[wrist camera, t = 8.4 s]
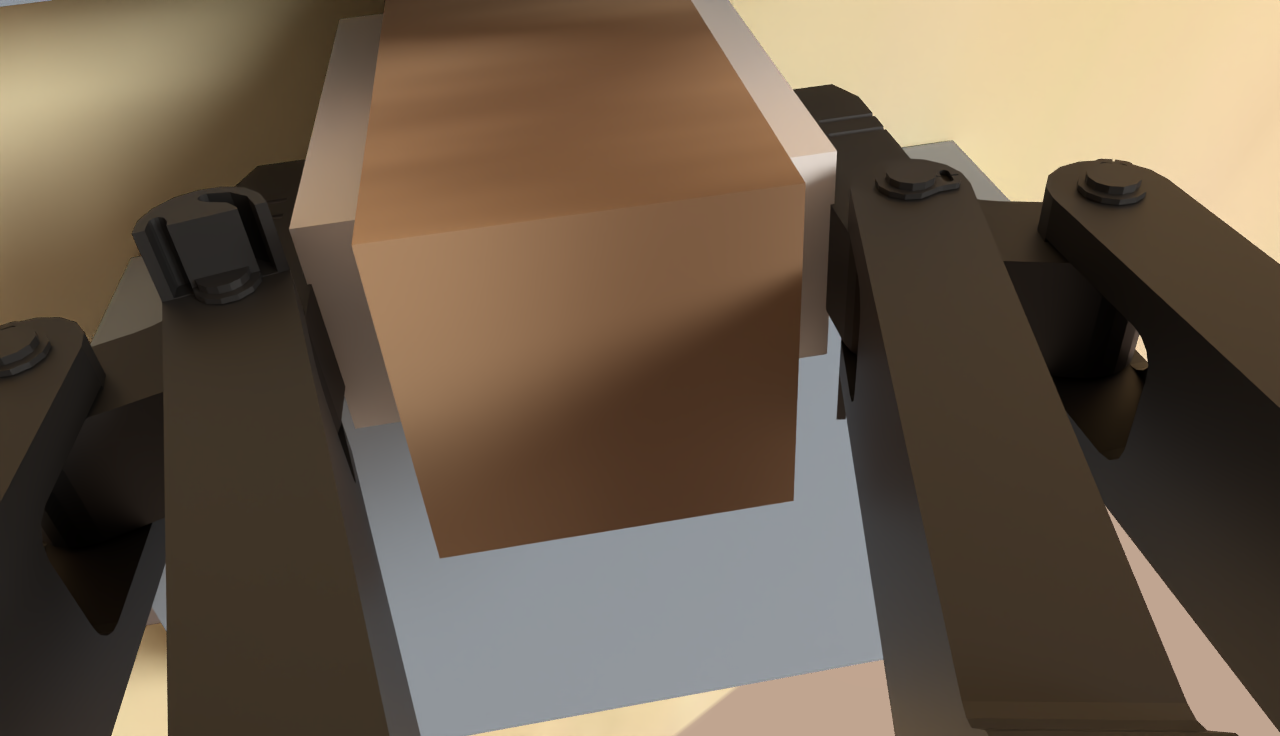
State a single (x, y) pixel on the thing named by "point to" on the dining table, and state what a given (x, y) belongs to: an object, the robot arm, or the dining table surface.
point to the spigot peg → (578, 268)
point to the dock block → (614, 572)
